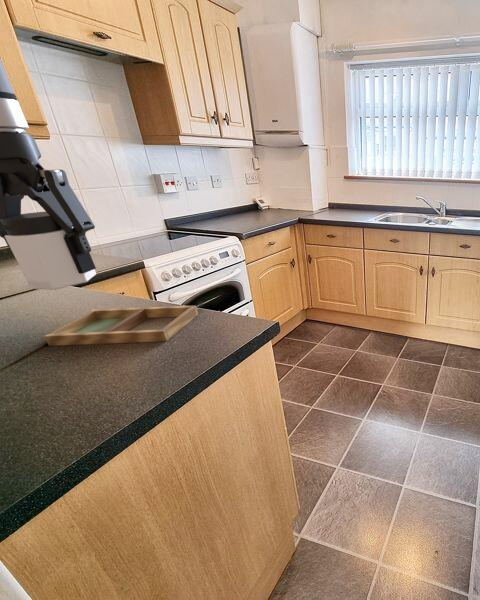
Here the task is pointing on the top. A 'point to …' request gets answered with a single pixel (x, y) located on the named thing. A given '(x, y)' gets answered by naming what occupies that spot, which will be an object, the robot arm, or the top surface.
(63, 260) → the jar
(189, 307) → the organiser
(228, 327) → the top surface
